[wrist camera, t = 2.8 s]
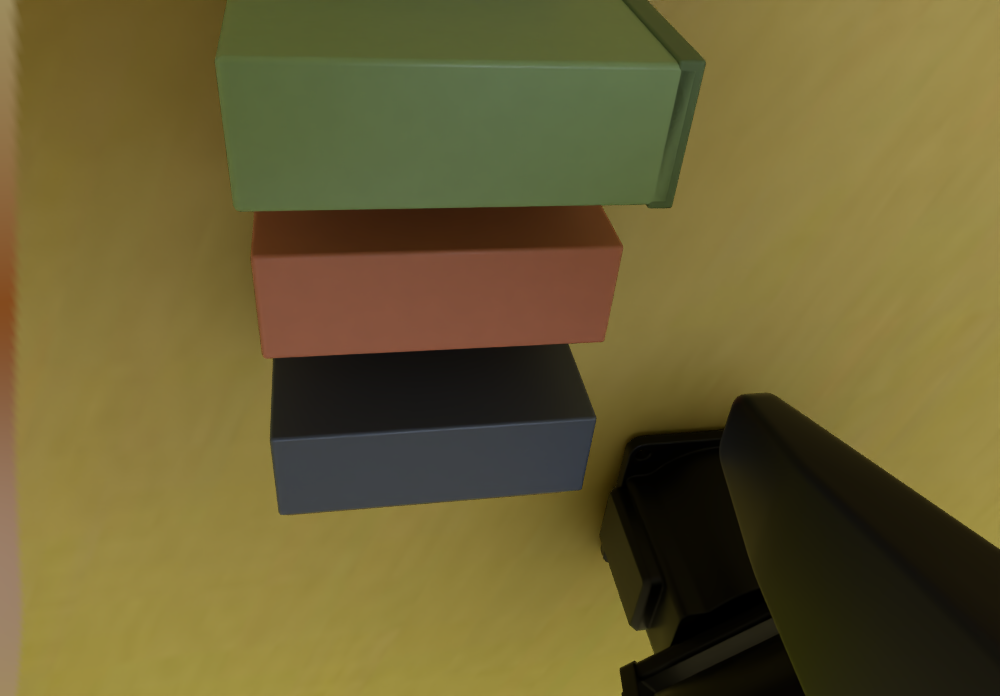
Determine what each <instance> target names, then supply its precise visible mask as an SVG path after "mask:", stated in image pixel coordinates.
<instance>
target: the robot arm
mask: <svg viewBox="0 0 1000 696" xmlns="http://www.w3.org/2000/svg"><path fill="white" fill-rule="evenodd" d="M640 450H642V451H640ZM600 539H601V542H602V544H601V553H602V556H603V559H604V560H605V561H606V562H608V563H609V566H610V569H611V572H612V575H613V578H614V581H615V584H616V587H617V590H618V593H619V596H620V599H621V602H622V605H623V608H624V611H625V614H626V617H627V620H628V623H629V625H630V626H631V627H632V628H634V629H635V630H636V631H638V630H646V632H647V635H648V637H649V640H650V643H651V646H652V649H653V652H654V655H652V656H650V657H648V658H646V659H644V660H642V661H640V662H638V663H637V662H636V661H633V662H631V663H629V664H627V665H625V666H623V667H621V668H620V675H621V682H622V688H623V692H622V696H1000V549H999V548H997V547H996V546H994V545H993V544H991V543H990V542H988V541H987V540H985V539H984V538H983V537H981V536H980V535H978V534H977V533H975V532H974V531H972V530H971V529H969V528H968V527H967V526H965V525H964V524H962V523H961V522H959V521H958V520H956V519H955V518H953V517H952V516H950V515H949V514H948V513H946V512H945V511H943V510H942V509H940V508H939V507H937V506H936V505H934V504H933V503H932V502H930V501H929V500H927V499H926V498H924V497H923V496H921V495H920V494H918V493H917V492H915V491H914V490H913V489H911V488H910V487H908V486H907V485H905V484H904V483H902V482H901V481H899V480H898V479H897V478H895V477H894V476H892V475H891V474H889V473H888V472H886V471H885V470H883V469H882V468H881V467H879V466H878V465H876V464H875V463H873V462H872V461H870V460H869V459H867V458H866V457H864V456H863V455H862V454H860V453H859V452H857V451H856V450H854V449H853V448H851V447H850V446H848V445H847V444H846V443H844V442H843V441H841V440H840V439H838V438H837V437H835V436H834V435H832V434H831V433H829V432H828V431H827V430H825V429H824V428H822V427H821V426H819V425H818V424H816V423H815V422H813V421H812V420H811V419H809V418H808V417H806V416H805V415H803V414H802V413H800V412H799V411H797V410H796V409H795V408H793V407H792V406H790V405H789V404H787V403H786V402H784V401H783V400H781V399H780V398H778V397H777V396H775V395H773V394H771V393H755V394H743V395H740V396H738V397H737V398H736V399H735V400H734V402H733V404H732V407H731V410H730V413H729V416H728V419H727V422H726V425H725V429H724V430H720V431H706V432H692V433H678V434H664V435H650V436H640V437H636V438H634V439H632V440H631V441H630V442H629V443H628V444H627V446H626V448H625V452H624V456H623V460H622V464H621V468H620V472H619V476H618V480H617V484H616V487H614V488H613V489H612V491H611V492H610V494H609V498H608V502H607V506H606V510H605V514H604V518H603V523H602V527H601V531H600Z"/></svg>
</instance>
